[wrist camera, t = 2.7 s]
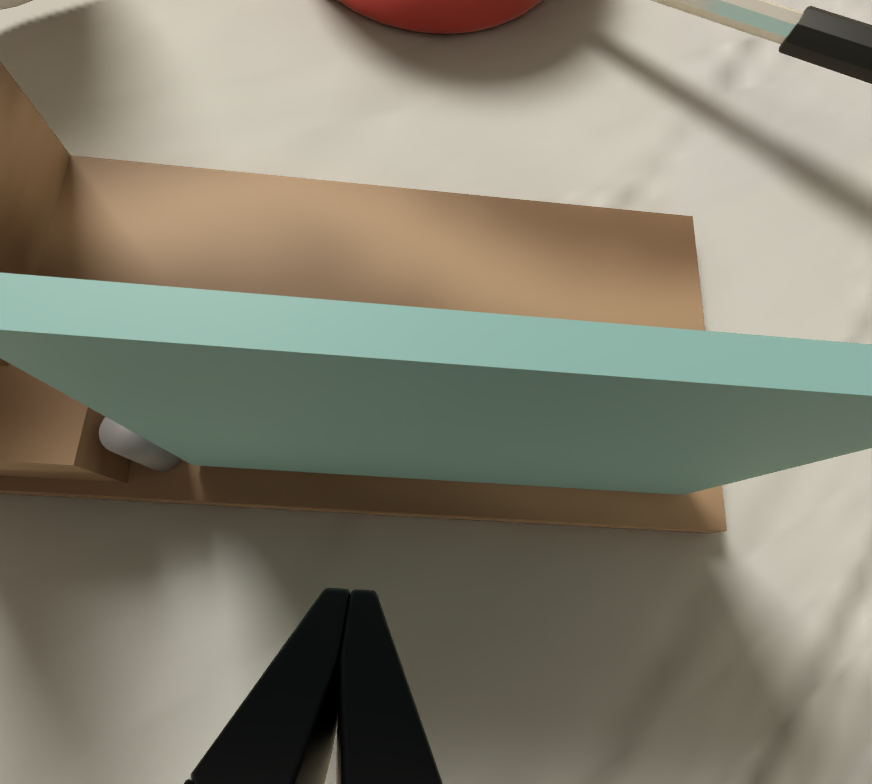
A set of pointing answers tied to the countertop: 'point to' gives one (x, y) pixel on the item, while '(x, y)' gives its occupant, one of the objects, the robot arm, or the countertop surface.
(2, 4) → the supplement bottle
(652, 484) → the door
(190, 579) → the countertop surface
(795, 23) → the frying pan
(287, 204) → the cabinet base
